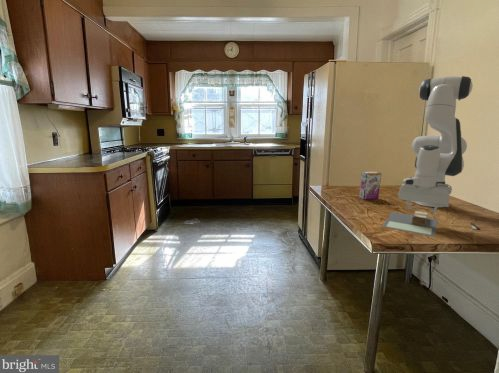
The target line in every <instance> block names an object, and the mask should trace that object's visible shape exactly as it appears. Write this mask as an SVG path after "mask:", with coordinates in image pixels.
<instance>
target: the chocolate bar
mask: <svg viewBox="0 0 499 373" xmlns="http://www.w3.org/2000/svg"><path fill="white" fill-rule="evenodd" d="M470 225H471V229H472V230H479V231H480V230H481V227H478V226H477V225H476V224H474V223H472V222H470Z"/></svg>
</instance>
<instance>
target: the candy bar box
mask: <svg viewBox="0 0 499 373" xmlns="http://www.w3.org/2000/svg"><path fill="white" fill-rule="evenodd" d="M360 177H361V178H360V183H359V193H358V194H359V195H358V198H359V199H361V200H364V201H365V200H376V199H379V197H380V196H379V195H380V188H381V182H382V181H381V180H382V172H379V171H361V176H360Z"/></svg>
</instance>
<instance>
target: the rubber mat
mask: <svg viewBox="0 0 499 373" xmlns="http://www.w3.org/2000/svg"><path fill="white" fill-rule="evenodd" d="M413 216H414V214H408V213H407V214H406V213H402V212H395V211H391V213H390V214H389V216H388V217H387V218H386V220H385V221H384V222H383V224H382V226H381V227H382V228H386V229H392V230H396V231H403V232H408V233H413V234H418V235H419V234H420V235H424V236H428V237H434V238H436V232H437V226H438V219H437V218H432V217H427V219H426V223H425V226H419V225H414V224H412V219H413Z"/></svg>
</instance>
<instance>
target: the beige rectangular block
mask: <svg viewBox="0 0 499 373" xmlns="http://www.w3.org/2000/svg"><path fill="white" fill-rule="evenodd" d="M413 215H414V216H413V219H412V224H414V225H419V226H425V223H426V219H427V218H428V212H424V211H421V210H420V211H419V210H415V211H414V213H413Z"/></svg>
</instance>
